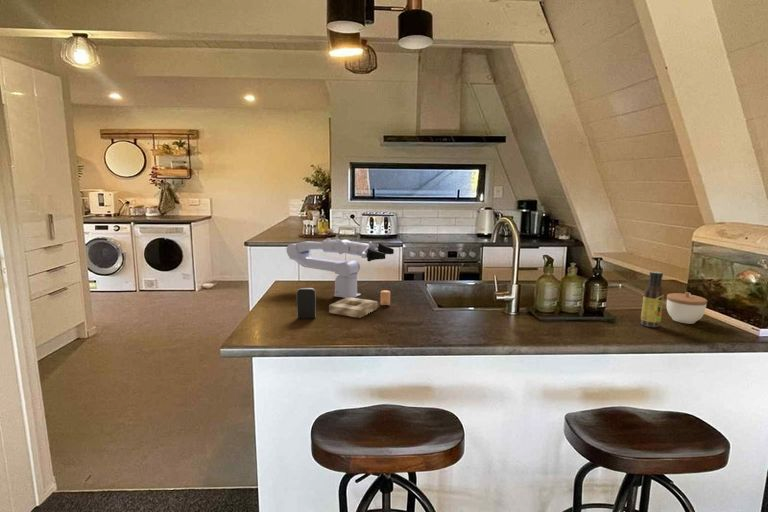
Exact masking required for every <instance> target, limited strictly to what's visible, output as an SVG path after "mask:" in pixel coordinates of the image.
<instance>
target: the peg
mask: <svg viewBox="0 0 768 512" xmlns="http://www.w3.org/2000/svg"><path fill="white" fill-rule="evenodd" d="M383 305H388V306H391V291H390V290H387V289H386V290H385V289H384V290H381V291H380V306H383Z"/></svg>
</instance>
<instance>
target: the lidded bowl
mask: <svg viewBox="0 0 768 512" xmlns="http://www.w3.org/2000/svg"><path fill="white" fill-rule="evenodd" d="M707 304H708V300H707V298H704V297H702V296H700V295H699V296H698V295H694V294H690V292H688V291H685V293H681V292H680V293H679V292H677V293H676V292H673V293H667V294H666V310H667V313H668V315H669V316H670V318H671V319H672V320H673V321H675V322H677V323H681V324H686V325H687V324H690V325H691V324H695V323H696V322H697V321H699V320H701V319H702V317H703V316H704V314H705V312H706V308H707Z"/></svg>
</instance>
